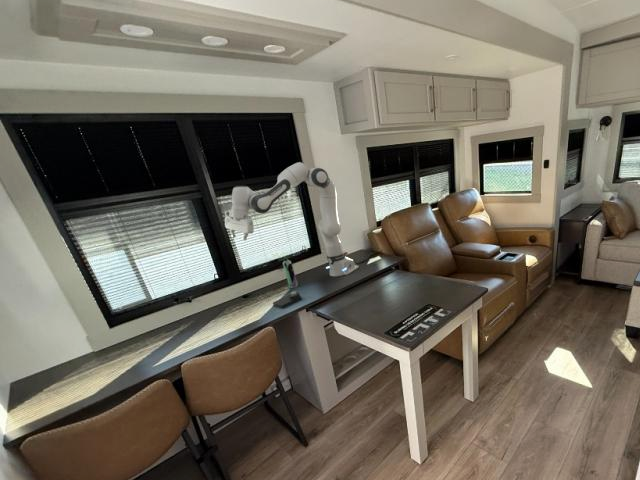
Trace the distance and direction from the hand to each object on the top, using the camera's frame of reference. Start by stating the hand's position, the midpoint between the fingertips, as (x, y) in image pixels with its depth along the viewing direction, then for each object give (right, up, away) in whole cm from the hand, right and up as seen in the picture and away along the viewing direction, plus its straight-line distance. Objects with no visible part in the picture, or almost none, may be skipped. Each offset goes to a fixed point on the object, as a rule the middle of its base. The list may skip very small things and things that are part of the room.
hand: (238, 238), depth 182 cm
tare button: (+30, -33, +6) cm, 45 cm away
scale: (+26, -37, +6) cm, 46 cm away
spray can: (+22, -28, +31) cm, 47 cm away
